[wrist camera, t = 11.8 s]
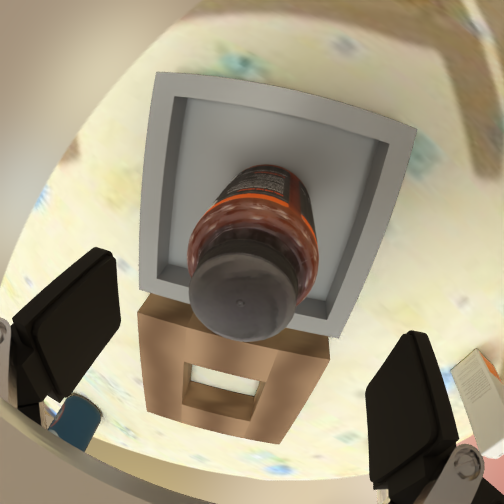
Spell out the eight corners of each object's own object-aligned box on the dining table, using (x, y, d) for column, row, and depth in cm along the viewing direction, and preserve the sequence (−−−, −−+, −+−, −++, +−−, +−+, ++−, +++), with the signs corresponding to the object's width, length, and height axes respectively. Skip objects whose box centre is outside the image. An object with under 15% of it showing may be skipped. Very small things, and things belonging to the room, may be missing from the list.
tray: (401, 126, 17) (417, 129, 15) (335, 314, 25) (338, 338, 22) (174, 76, 18) (156, 71, 15) (153, 270, 25) (139, 289, 22)
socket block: (327, 331, 26) (330, 359, 22) (281, 421, 33) (279, 444, 30) (153, 289, 26) (137, 312, 23) (156, 390, 33) (147, 411, 30)
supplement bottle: (209, 185, 21) (131, 262, 10) (287, 147, 19) (280, 192, 9) (249, 256, 23) (213, 371, 13) (324, 225, 21) (345, 336, 11)
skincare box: (493, 363, 25) (527, 438, 15) (468, 384, 27) (495, 460, 17) (476, 346, 24) (515, 431, 14) (448, 370, 26) (478, 457, 16)
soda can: (65, 386, 39) (32, 438, 28) (99, 403, 39) (68, 460, 28) (74, 407, 42) (47, 455, 31) (106, 422, 42) (80, 474, 31)
